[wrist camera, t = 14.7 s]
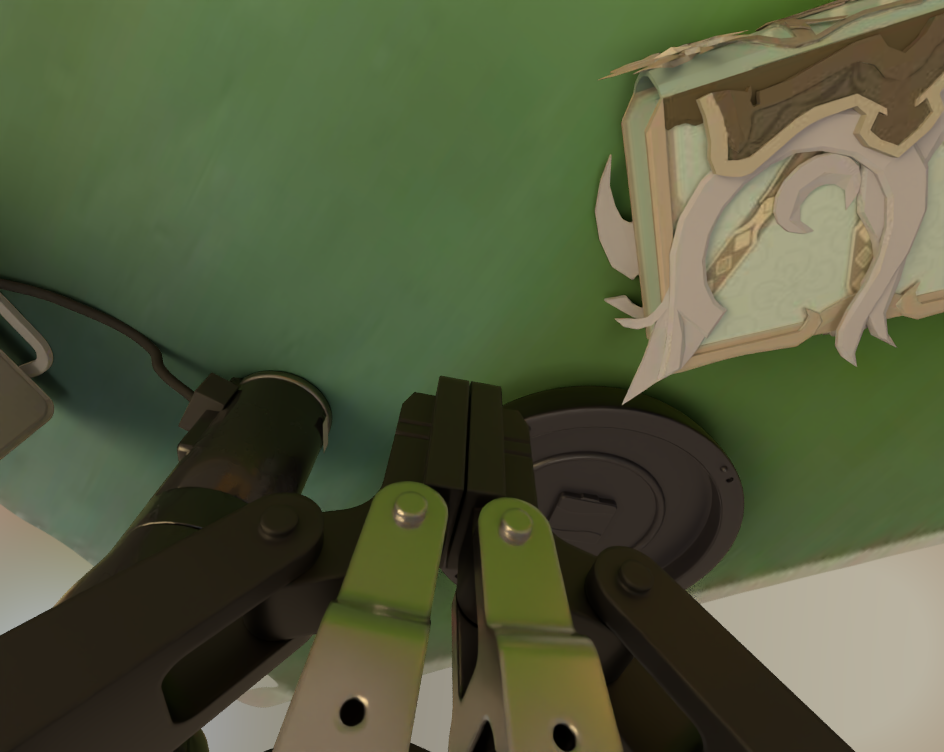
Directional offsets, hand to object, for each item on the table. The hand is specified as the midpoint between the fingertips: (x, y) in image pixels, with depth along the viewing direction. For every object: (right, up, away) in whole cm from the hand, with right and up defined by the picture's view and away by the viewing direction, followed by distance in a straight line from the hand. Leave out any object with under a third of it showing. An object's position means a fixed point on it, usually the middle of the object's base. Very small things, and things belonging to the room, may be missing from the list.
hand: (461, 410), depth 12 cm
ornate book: (+23, +15, +22) cm, 35 cm away
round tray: (+11, -11, +39) cm, 42 cm away
